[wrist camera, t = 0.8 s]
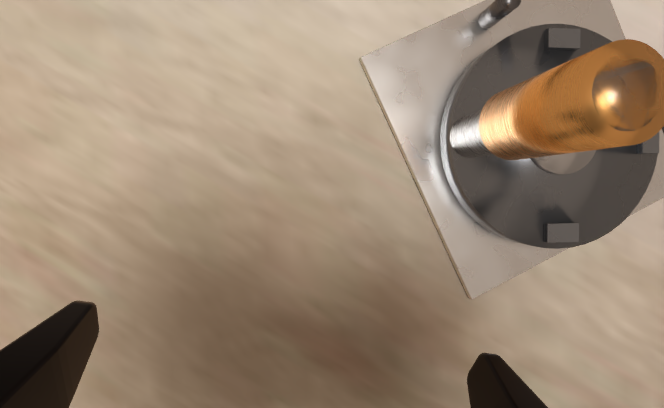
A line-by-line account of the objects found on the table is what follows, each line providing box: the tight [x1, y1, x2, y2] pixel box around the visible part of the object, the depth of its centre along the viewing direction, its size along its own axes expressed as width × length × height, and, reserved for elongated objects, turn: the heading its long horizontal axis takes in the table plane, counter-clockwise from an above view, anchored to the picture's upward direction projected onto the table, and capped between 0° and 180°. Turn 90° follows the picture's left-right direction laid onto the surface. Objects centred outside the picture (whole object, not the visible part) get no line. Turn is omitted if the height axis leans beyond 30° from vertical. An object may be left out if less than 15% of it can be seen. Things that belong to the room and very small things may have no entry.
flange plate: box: [359, 0, 664, 299], centre depth 23 cm, size 15×15×3 cm
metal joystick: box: [440, 24, 664, 249], centre depth 18 cm, size 12×12×12 cm
